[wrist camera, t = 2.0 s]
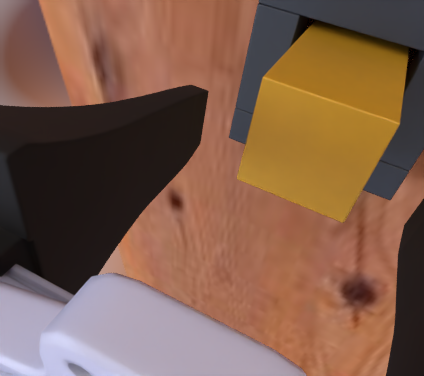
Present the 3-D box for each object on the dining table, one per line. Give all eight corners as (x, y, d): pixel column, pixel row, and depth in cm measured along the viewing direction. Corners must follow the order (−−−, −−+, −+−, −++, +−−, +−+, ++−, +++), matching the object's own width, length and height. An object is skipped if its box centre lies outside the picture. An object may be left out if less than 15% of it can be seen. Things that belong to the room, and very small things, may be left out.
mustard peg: (370, 122, 18) (343, 224, 13) (293, 95, 19) (236, 179, 13) (410, 41, 16) (400, 123, 10) (319, 14, 17) (262, 76, 11)
